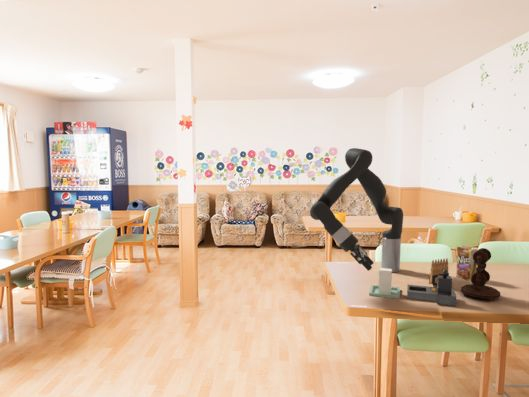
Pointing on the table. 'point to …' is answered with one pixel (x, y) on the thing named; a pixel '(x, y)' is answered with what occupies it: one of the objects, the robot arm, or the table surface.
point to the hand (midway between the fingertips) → (371, 266)
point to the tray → (394, 294)
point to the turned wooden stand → (480, 278)
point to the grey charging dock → (435, 291)
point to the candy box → (465, 262)
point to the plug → (385, 280)
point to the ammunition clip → (437, 270)
